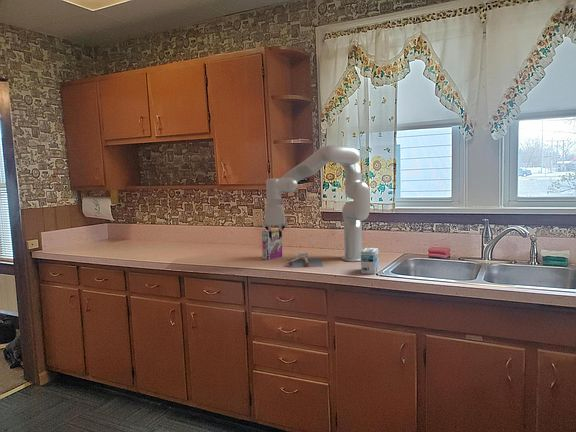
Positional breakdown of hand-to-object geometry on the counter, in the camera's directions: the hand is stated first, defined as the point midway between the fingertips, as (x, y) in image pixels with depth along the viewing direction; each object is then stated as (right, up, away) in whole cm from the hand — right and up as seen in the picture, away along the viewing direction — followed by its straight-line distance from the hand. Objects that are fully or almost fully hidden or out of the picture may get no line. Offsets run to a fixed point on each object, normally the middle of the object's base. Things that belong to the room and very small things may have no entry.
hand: (275, 238), depth 230 cm
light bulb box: (+46, -15, -12) cm, 50 cm away
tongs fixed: (+15, -13, +8) cm, 22 cm away
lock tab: (+15, -12, +20) cm, 28 cm away
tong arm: (+10, -14, +8) cm, 18 cm away
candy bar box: (-2, -13, +26) cm, 29 cm away
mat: (+15, -14, +10) cm, 23 cm away
